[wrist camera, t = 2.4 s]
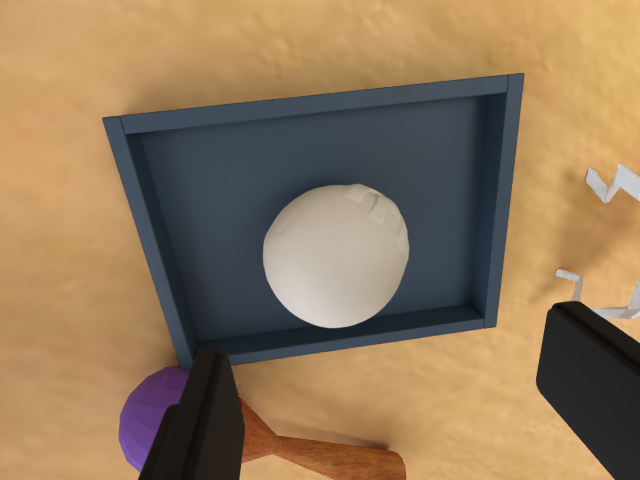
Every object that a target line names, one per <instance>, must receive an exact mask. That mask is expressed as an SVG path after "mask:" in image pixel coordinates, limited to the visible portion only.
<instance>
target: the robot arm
mask: <svg viewBox="0 0 640 480" xmlns="http://www.w3.org/2000/svg"><path fill="white" fill-rule="evenodd" d="M536 384H537V387H538V390H539V391H540V393H541V394H542V395H543V396H544V398H545V399H546V400H547V401H548V402H549V403H550V405H551V406H552V407H553V408H554V409H555V410H556V412H557V413H558V414H559V415H560V416H561V417H562V419H563V420H564V421H565V422H566V423H567V424H568V426H569V427H570V428H571V429H572V430H573V431H574V433H575V434H576V435H577V436H578V437H579V438H580V440H581V441H582V442H583V443H584V444H585V445H586V447H587V448H588V449H589V450H590V451H591V452H592V454H593V455H594V456H595V457H596V458H597V459H598V460H599V462H600V463H601V464H602V465H603V466H604V467H605V469H606V470H607V471H608V472H609V473H610V474H611V476H612V477H613V478H614V479H615V480H640V343H639V342H637V341H636V340H634V339H633V338H632V337H630V336H629V335H627V334H626V333H624V332H623V331H622V330H620V329H619V328H617V327H616V326H614V325H613V324H611V323H610V322H609V321H607V320H606V319H604V318H603V317H601V316H600V315H598V314H597V313H596V312H594V311H593V310H591V309H590V308H588V307H587V306H585V305H584V304H583V303H581V302H579V301H568V302H560V303H555V304H554V305H553V306H552V308H551V309H550V310H549V311H548V313H547V318H546V323H545V329H544V335H543V341H542V347H541V353H540V359H539V365H538V370H537V376H536ZM244 439H245V422H244V418H243V414H242V409H241V405H240V401H239V397H238V393H237V389H236V385H235V381H234V377H233V373H232V369H231V364H230V360H229V356H228V354H227V353H221V350H220V349H219V348H215V349H208V350H200V351H198V352H197V354H196V357H195V360H194V362H193V365H192V368H191V371H190V373H189V376H188V379H187V382H186V384H185V387H184V390H183V393H182V395H181V398H180V401H179V404H173V405H170V406H169V407H167V409H166V411H165V413H164V415H163V418H162V420H161V423H160V426H159V428H158V431H157V433H156V436H155V438H154V441H153V443H152V446H151V448H150V451H149V453H148V456H147V458H146V461H145V463H144V466H143V468H142V471H141V473H140V476H139V479H138V480H239V477H240V469H241V462H242V454H243V446H244Z"/></svg>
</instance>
